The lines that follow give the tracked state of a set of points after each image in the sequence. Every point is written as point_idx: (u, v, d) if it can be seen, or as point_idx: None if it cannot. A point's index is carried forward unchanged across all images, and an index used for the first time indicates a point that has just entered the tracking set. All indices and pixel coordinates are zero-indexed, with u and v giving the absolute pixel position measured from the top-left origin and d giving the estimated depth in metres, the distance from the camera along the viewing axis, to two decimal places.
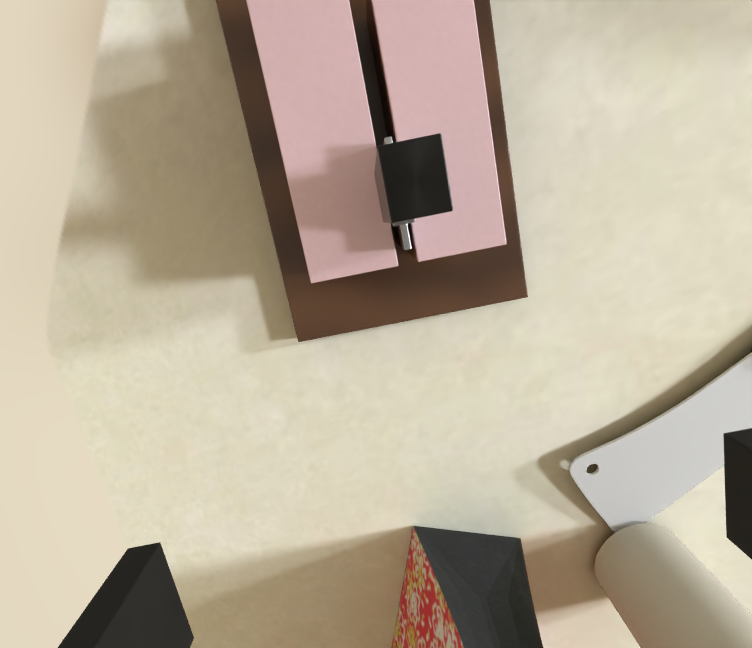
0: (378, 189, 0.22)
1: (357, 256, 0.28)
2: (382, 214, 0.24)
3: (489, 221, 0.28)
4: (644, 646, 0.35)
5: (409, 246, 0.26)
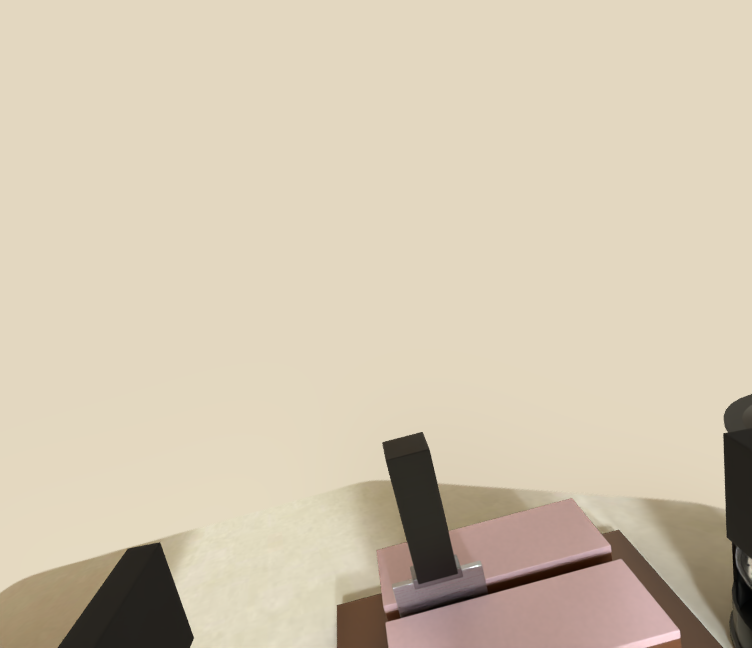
0: None
1: (394, 576, 0.34)
2: None
3: None
4: None
5: (394, 586, 0.30)
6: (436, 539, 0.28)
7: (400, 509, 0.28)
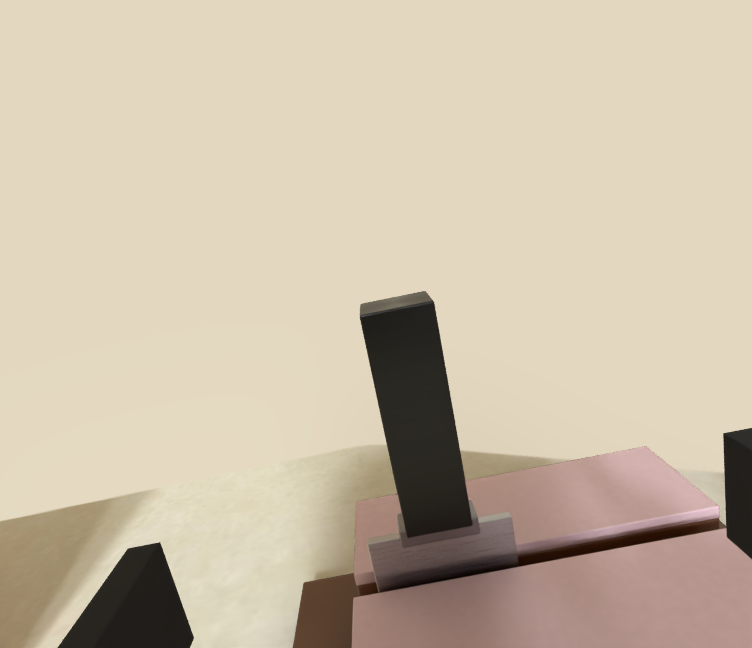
0: None
1: (375, 535, 0.23)
2: None
3: None
4: None
5: (370, 541, 0.19)
6: (439, 462, 0.17)
7: (381, 405, 0.17)
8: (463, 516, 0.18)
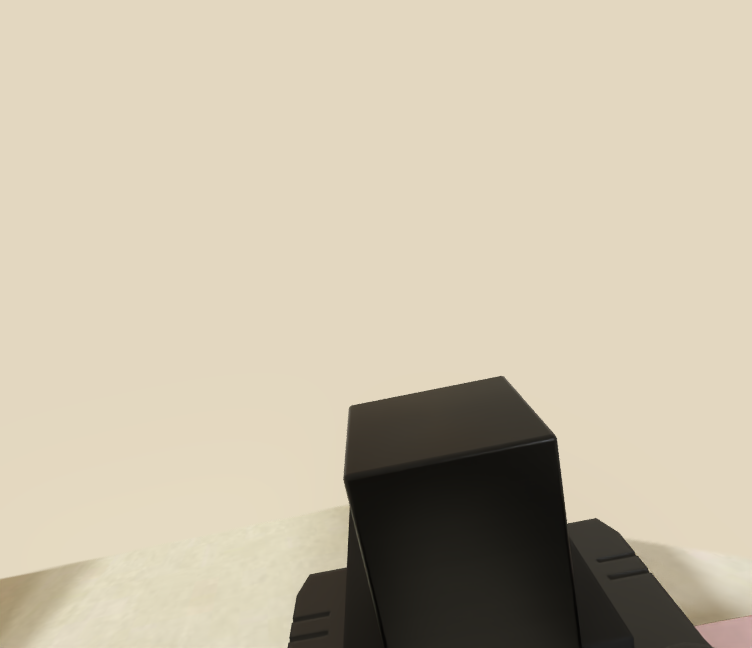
0: None
1: None
2: None
3: None
4: None
5: None
6: None
7: None
8: None
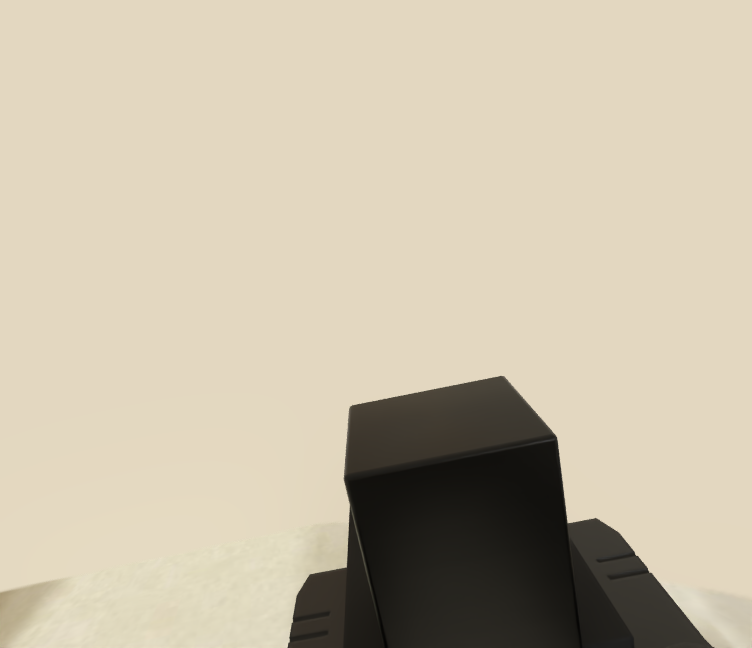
0: None
1: None
2: None
3: None
4: None
5: None
6: None
7: None
8: None
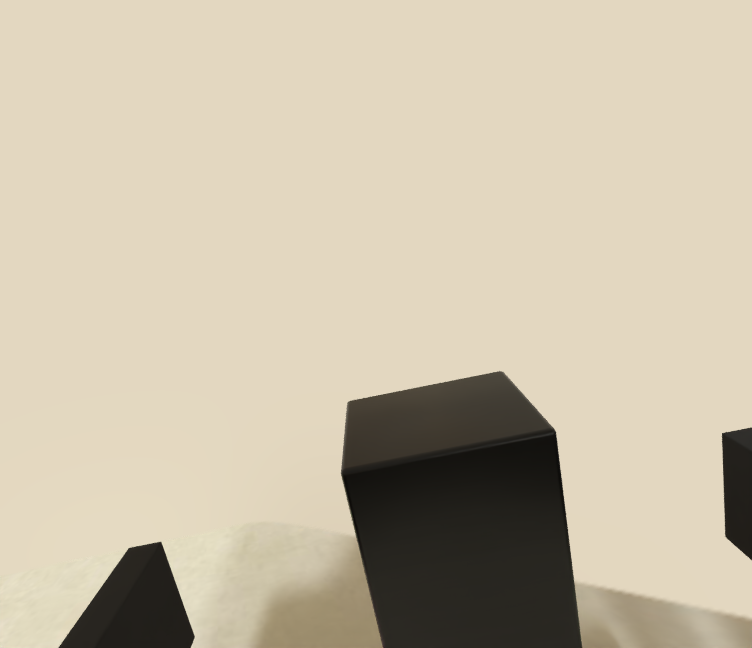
0: None
1: None
2: None
3: None
4: None
5: None
6: None
7: None
8: None
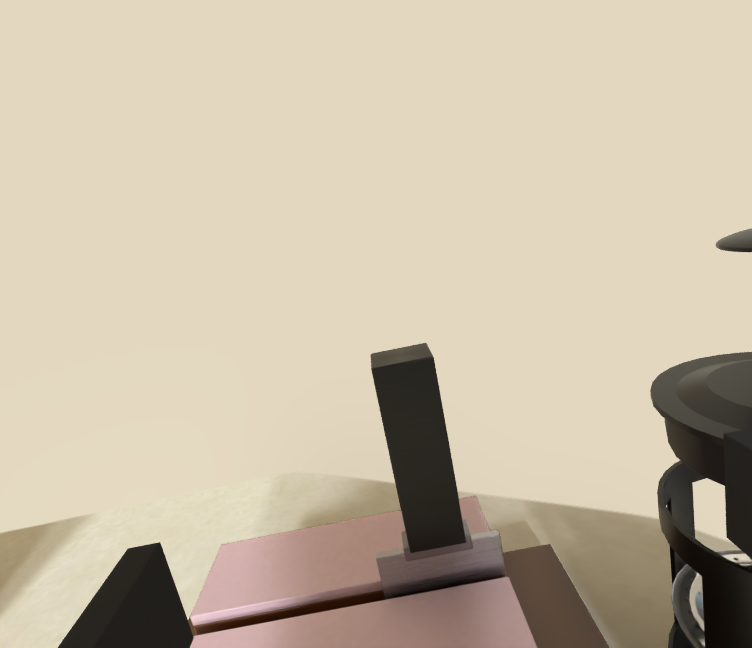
0: None
1: (222, 578, 0.26)
2: None
3: None
4: None
5: (378, 556, 0.22)
6: (438, 489, 0.20)
7: (389, 442, 0.20)
8: (458, 534, 0.21)
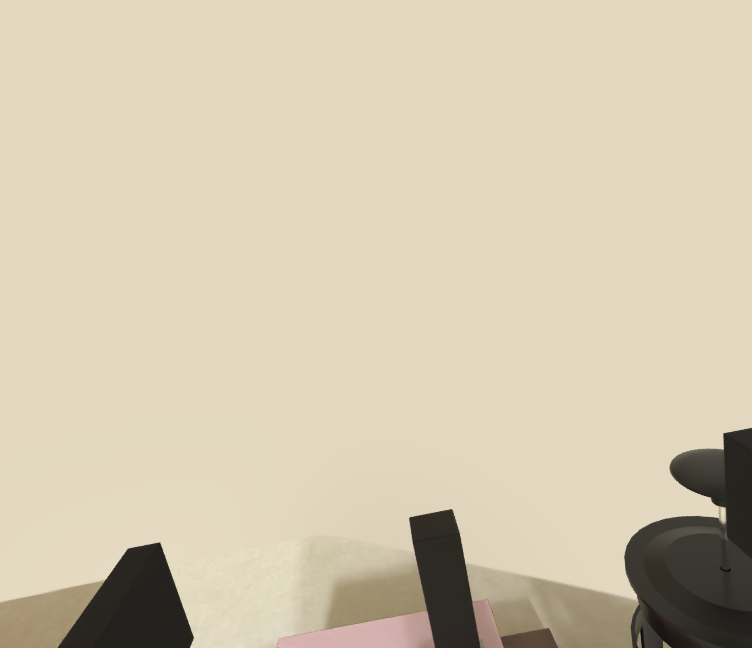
0: None
1: None
2: None
3: None
4: None
5: None
6: (462, 626, 0.27)
7: (425, 593, 0.26)
8: None
